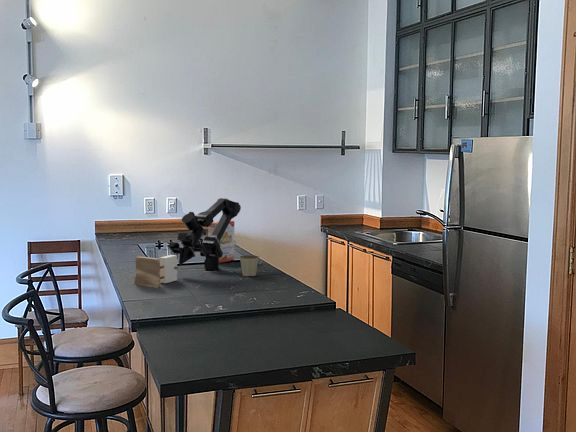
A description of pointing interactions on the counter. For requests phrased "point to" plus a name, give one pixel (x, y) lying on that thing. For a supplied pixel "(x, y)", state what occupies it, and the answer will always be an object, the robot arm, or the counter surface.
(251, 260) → the flower pot
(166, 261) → the door panel
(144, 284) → the cabinet corner
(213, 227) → the cracker box
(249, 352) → the counter surface
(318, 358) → the counter surface
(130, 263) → the counter surface
